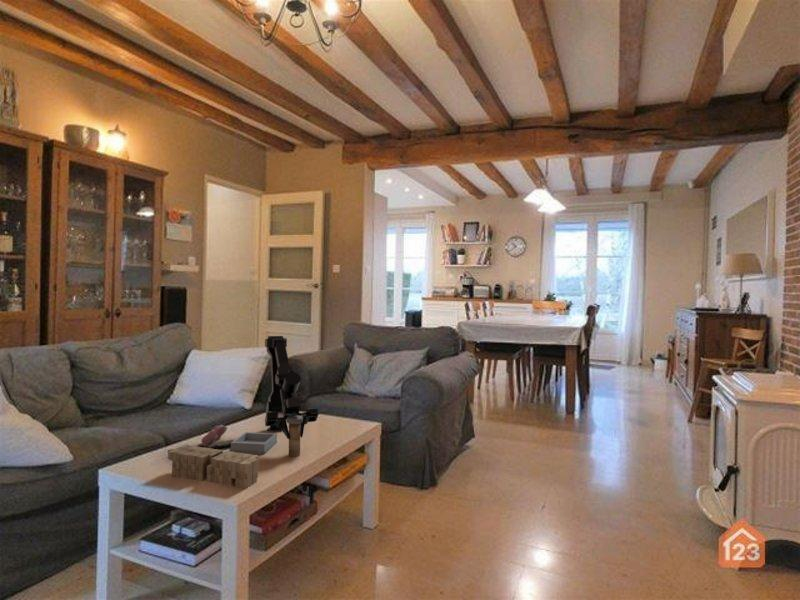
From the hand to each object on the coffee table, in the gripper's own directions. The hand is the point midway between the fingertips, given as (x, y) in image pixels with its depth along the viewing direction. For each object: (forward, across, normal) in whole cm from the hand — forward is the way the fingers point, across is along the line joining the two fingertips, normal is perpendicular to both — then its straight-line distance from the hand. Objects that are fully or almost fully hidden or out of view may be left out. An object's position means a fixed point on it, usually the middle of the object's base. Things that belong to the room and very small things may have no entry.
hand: (295, 437), depth 171 cm
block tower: (+12, -27, -2) cm, 30 cm away
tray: (-6, -12, +15) cm, 20 cm away
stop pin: (+4, 0, +6) cm, 7 cm away
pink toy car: (-15, -25, +25) cm, 39 cm away
